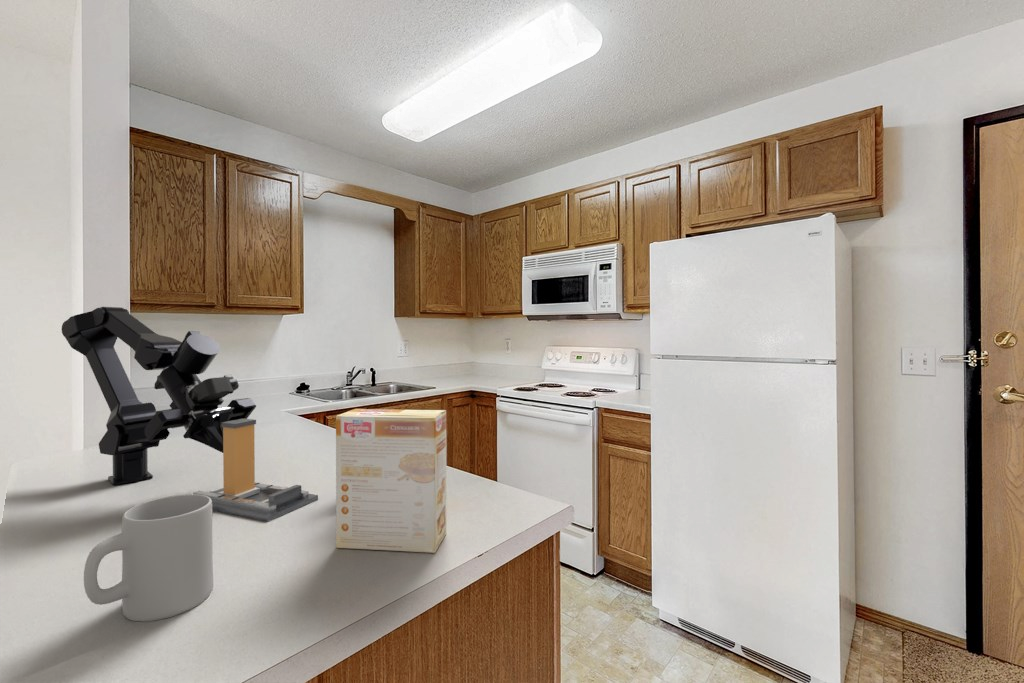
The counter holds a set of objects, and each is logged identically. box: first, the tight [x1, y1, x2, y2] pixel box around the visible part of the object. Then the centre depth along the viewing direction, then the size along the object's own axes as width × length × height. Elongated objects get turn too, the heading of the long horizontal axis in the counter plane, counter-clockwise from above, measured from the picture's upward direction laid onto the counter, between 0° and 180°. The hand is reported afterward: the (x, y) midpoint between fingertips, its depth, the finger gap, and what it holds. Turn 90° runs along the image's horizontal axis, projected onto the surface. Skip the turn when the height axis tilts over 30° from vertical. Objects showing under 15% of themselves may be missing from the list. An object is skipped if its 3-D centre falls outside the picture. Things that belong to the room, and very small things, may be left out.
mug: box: [83, 494, 214, 622], centre depth 52 cm, size 12×8×11 cm
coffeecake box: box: [335, 408, 447, 554], centre depth 70 cm, size 15×7×20 cm, turn 84°
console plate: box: [192, 482, 319, 522], centre depth 85 cm, size 20×11×3 cm, turn 69°
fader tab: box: [218, 418, 260, 499], centre depth 86 cm, size 5×5×14 cm
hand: (226, 451), depth 87 cm, fingers closed
